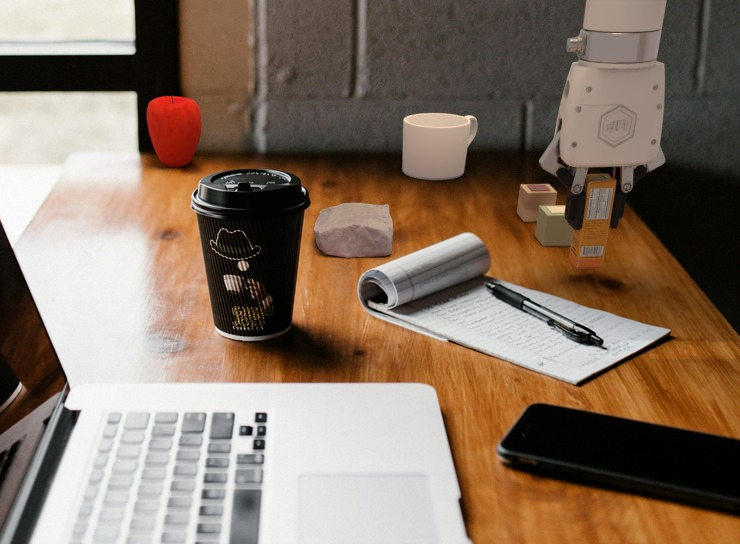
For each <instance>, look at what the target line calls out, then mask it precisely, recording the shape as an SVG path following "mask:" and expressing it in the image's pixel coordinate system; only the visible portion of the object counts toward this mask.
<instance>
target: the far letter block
mask: <svg viewBox="0 0 740 544" xmlns="http://www.w3.org/2000/svg"><path fill="white" fill-rule="evenodd" d="M557 197H558V192H557V190H556V189H554V188H553V187H552V186H551V184H550V183H531V184H530V183H528V184H524V183H521V184H519V192H518V200H517V207H516V214H517V215H518V216H519V218H520V219H521V221H523V223H527V222H528V223H530V222H531V223H532V222H533V223H534V222H536V223H537V217H538V210H539V206H556V203H557Z"/></svg>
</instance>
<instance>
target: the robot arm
mask: <svg viewBox="0 0 740 544" xmlns="http://www.w3.org/2000/svg"><path fill="white" fill-rule="evenodd" d="M667 1H668V0H585V7H584V15H583V24H582V29H579V33H578V35H576V36H575V37H568V38H567V41H566V44H565V48H566V49H565V50H566V52H567V53H574V54H576V57H577V58H578V60H577V61H573V62H572V63H571V66H570V68H569V71H568V74H567V77H566V80H565V84H564V88H563V91H562V95H561V99H560V103H559V108H558V113H557V117H556V123H555V128H554V135H553V139H552V140H551V142H550V143H549V145H547V147H546V149H545V150H544V152H543V154H542V155H541V157H540V158H539V160H538V166H539V167H540V168H542V169H543V170H544V171H545V172H548V173H549V174H551V175H552V176H554V177H556V178H557V179H559V181H560V182H561V183H562V184H563V186H564V187H566V189H567V191H566V199H565V205H566V206H565V213H564V216H565V219H566V220H567V222H568V224H569V225H570V226H571V227H572V228H573V229H574V230H580V229H582V224H583V218H584V211H585V204H586V195H585V194H584V193H583V190H584V187H583V186H584V182H585V179H586V175H587V174H588V171H589V169H590V168H609V167H612V168H613V169H612V178H613V179H615V180H617V181H616V188H615V195H614V201H613V208H612V214H611V221H610V227H609V229H611V230H614V229H615V230H616V229H618V228H619V223H620V222H619V221H620V220H621V219H623V216H624V212H625V207H626V200H627V194H628V193H629V192H631V191H632V190H633V187H634V185H636V184H637V183H638V182H639V181H640V180H641V179H642V178H643V177H644V176H646V175H647V173H650V172H652V171H654V170H655V169H657V168H660V167H661V166H662V165H664V164H665V163H666V157H665V153H664V152H663V149H662V147H661V139H662V131H663V121H664V111H665V109H664V108H665V95H666V94H665V93H666V92H665V90H666V69H665V63H664V62H661V61H657V59H658V54H659V48H660V42H661V36H662V31H663V30H662V28H663V23H664V19H665V12H666V6H667ZM559 158H560V159H561V160H562V162H564V164H566V165H567V166H568V167H565V166H564V165H562V163H561V164H560V163H559V162H558V159H559Z"/></svg>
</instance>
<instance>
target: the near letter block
mask: <svg viewBox="0 0 740 544" xmlns="http://www.w3.org/2000/svg"><path fill="white" fill-rule="evenodd" d="M565 206H566V204H563V205H559V204H558V205H556V204H555V206H539V210H538V217H537V222H536V224H535V231H534V237H535V238H536V239H537V241H538V242H539V243H540V244H541V245H542V247H571V242H572V236H573V228H572V227H571V226H570V225H569V224H568V222H567V220H566V219H565V216H564V213H565Z"/></svg>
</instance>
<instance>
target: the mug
mask: <svg viewBox="0 0 740 544" xmlns="http://www.w3.org/2000/svg"><path fill="white" fill-rule="evenodd" d="M402 121H403V122H402V168H401V170H402V171H401V172H402V173H403V174H404V175H405V176H407V177H410V178H413V179H417V180H424V181H425V180H426V181H447V180H449V181H450V180H453V179H457V178H460V177H461V176H462V175H464V173H465V167H466V160H467V153H468V148H469V146H470V145H471V144H472V142H473V140H474V139H475V137H476V135H477V133H478V126H479V125H478V119H477V118H476V117H475V116H474V115H464V116H463V115H458V114H453V113H444V112H443V113H441V112H427V113H426V112H425V113H414V114H410V115H407V116H405V117H404V118H403V120H402Z"/></svg>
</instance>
